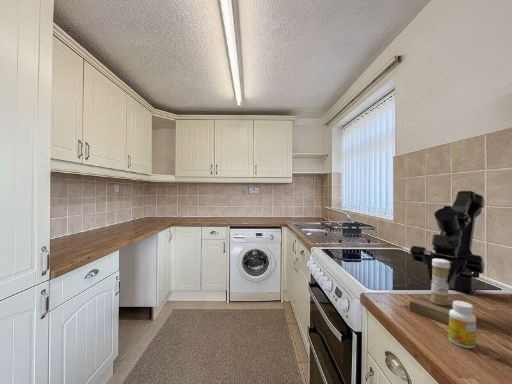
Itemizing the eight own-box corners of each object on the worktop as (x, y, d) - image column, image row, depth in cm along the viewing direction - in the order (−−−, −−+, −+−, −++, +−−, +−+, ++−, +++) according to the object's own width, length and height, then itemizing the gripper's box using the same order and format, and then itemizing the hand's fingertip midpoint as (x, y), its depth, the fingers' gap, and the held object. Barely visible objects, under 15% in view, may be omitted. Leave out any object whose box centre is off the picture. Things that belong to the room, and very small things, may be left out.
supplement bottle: (443, 336, 68) (443, 299, 68) (462, 336, 69) (463, 299, 69) (461, 349, 63) (461, 308, 63) (481, 348, 63) (482, 308, 63)
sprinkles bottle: (446, 301, 83) (448, 259, 82) (449, 307, 79) (451, 263, 78) (429, 298, 85) (431, 257, 84) (431, 304, 81) (433, 260, 80)
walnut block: (427, 302, 90) (427, 293, 90) (470, 316, 80) (471, 306, 80) (409, 310, 83) (409, 301, 83) (454, 327, 73) (454, 316, 73)
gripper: (412, 222, 91) (399, 259, 84) (482, 228, 77) (474, 274, 70) (419, 241, 96) (408, 278, 89) (486, 251, 82) (479, 295, 75)
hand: (439, 281), depth 81 cm, fingers closed on sprinkles bottle, 4 cm apart
